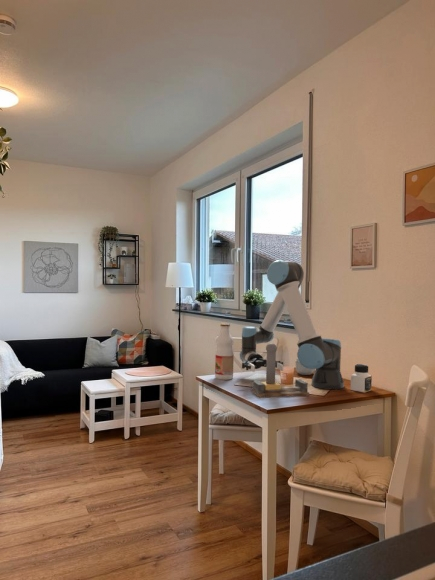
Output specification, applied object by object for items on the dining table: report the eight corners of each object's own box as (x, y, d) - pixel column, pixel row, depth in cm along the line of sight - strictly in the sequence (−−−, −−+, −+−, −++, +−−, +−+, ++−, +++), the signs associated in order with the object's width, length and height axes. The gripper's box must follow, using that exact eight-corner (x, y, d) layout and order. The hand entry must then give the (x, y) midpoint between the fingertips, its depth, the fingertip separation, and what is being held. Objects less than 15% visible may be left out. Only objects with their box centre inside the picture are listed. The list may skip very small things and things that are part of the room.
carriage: (275, 385, 195) (276, 341, 195) (280, 389, 188) (281, 343, 188) (260, 386, 194) (261, 341, 194) (265, 389, 187) (266, 344, 187)
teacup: (313, 376, 230) (314, 361, 230) (293, 374, 233) (293, 360, 233) (316, 371, 243) (316, 357, 243) (297, 370, 246) (297, 356, 246)
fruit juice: (230, 380, 216) (231, 325, 215) (212, 379, 218) (213, 324, 218) (235, 376, 225) (236, 323, 224) (217, 375, 227) (218, 322, 227)
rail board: (298, 389, 201) (298, 378, 201) (309, 395, 189) (309, 384, 189) (251, 390, 195) (251, 379, 195) (259, 397, 184) (259, 385, 184)
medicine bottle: (364, 392, 196) (365, 366, 196) (350, 390, 201) (350, 364, 201) (371, 390, 201) (372, 364, 201) (357, 387, 206) (357, 362, 206)
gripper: (277, 367, 216) (294, 376, 195) (229, 368, 210) (241, 377, 190) (278, 352, 216) (294, 359, 195) (230, 353, 210) (241, 360, 190)
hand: (268, 368), depth 192 cm, fingers open, 13 cm apart
